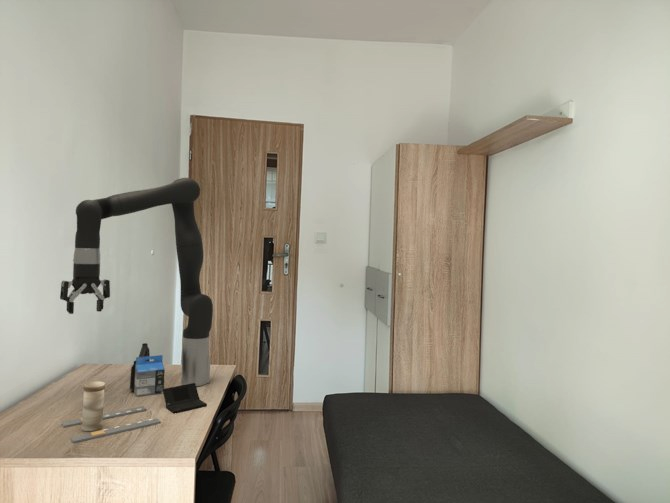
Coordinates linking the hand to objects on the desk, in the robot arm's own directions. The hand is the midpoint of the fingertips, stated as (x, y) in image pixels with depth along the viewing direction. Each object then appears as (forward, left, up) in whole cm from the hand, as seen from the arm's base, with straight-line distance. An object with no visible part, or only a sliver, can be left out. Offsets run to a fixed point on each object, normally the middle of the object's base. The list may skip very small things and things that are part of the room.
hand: (85, 312), depth 144 cm
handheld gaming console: (-24, +24, -29) cm, 44 cm away
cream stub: (+3, +26, -28) cm, 38 cm away
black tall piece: (-22, -11, -28) cm, 37 cm away
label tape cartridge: (-19, +6, -28) cm, 35 cm away
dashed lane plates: (-2, +26, -28) cm, 38 cm away
